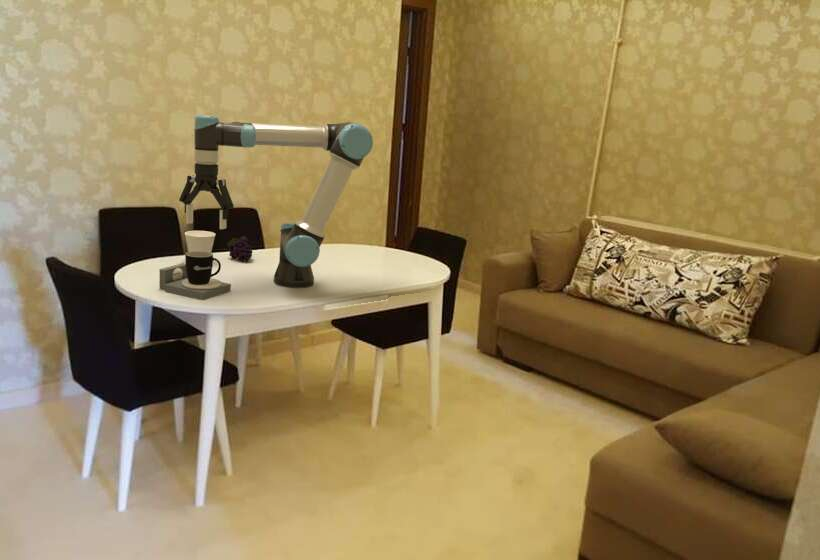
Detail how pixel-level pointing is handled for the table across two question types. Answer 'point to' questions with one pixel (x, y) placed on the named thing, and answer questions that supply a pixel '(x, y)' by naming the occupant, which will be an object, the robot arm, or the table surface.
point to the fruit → (240, 249)
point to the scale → (178, 283)
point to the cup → (199, 240)
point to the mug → (200, 267)
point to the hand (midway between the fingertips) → (206, 226)
